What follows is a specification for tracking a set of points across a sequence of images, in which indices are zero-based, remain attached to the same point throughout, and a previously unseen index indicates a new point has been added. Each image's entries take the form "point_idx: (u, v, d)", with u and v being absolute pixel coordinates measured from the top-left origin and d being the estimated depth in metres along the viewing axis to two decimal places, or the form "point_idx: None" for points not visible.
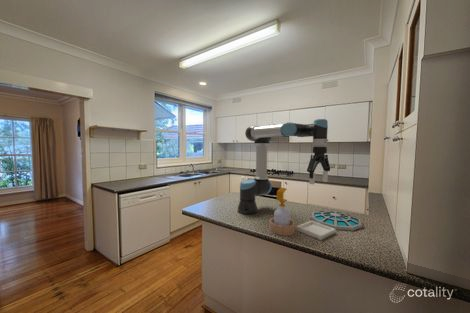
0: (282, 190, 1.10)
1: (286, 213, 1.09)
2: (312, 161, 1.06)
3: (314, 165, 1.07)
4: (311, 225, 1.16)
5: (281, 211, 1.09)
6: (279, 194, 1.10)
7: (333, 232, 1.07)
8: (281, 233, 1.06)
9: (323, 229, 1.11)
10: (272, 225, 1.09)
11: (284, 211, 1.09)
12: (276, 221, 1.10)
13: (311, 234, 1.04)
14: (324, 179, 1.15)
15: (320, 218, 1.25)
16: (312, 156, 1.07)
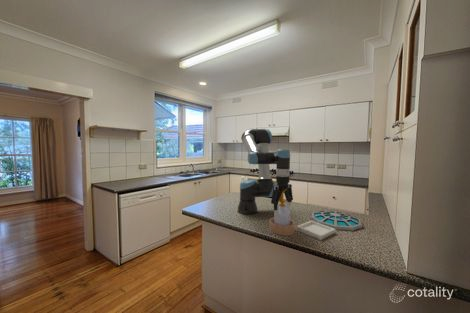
0: None
1: (286, 213, 1.09)
2: (274, 193, 1.07)
3: (277, 196, 1.08)
4: (311, 225, 1.16)
5: (281, 211, 1.09)
6: None
7: (333, 232, 1.07)
8: (281, 233, 1.06)
9: (323, 229, 1.11)
10: (272, 225, 1.09)
11: (284, 211, 1.09)
12: (276, 221, 1.10)
13: (311, 234, 1.04)
14: None
15: (320, 218, 1.25)
16: (274, 188, 1.07)
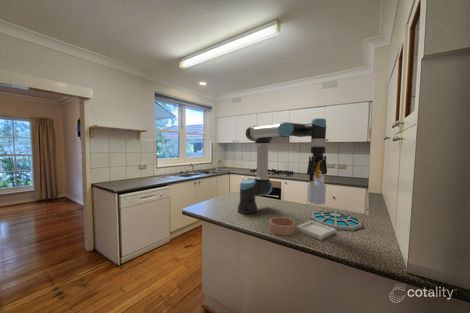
0: None
1: (322, 184, 1.05)
2: (311, 163, 1.04)
3: (313, 167, 1.05)
4: (311, 225, 1.16)
5: (317, 182, 1.06)
6: None
7: (333, 232, 1.07)
8: (281, 233, 1.06)
9: (323, 229, 1.11)
10: (272, 225, 1.09)
11: (320, 182, 1.06)
12: (312, 193, 1.06)
13: (311, 234, 1.04)
14: None
15: (320, 218, 1.25)
16: (310, 158, 1.04)
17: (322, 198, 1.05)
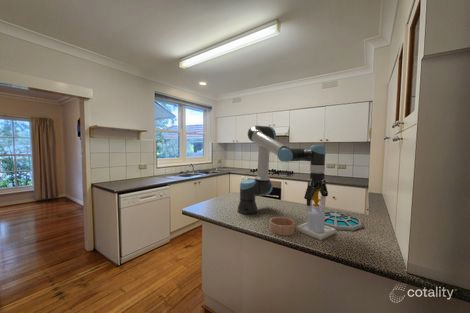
0: (317, 189, 1.08)
1: (321, 213, 1.06)
2: (309, 188, 1.04)
3: (311, 192, 1.05)
4: None
5: (316, 211, 1.07)
6: (314, 194, 1.07)
7: (333, 232, 1.07)
8: (281, 233, 1.06)
9: None
10: (272, 225, 1.09)
11: (319, 211, 1.07)
12: (311, 221, 1.07)
13: (311, 234, 1.04)
14: (322, 204, 1.13)
15: None
16: (309, 183, 1.05)
17: (321, 227, 1.06)
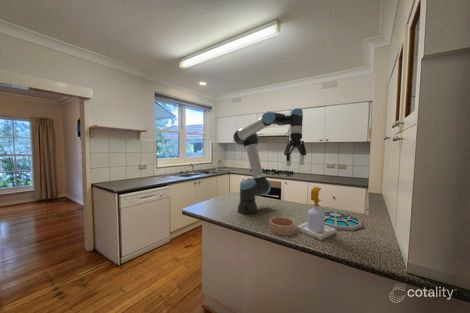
0: (317, 189, 1.07)
1: (321, 213, 1.06)
2: (288, 145, 1.20)
3: (290, 149, 1.21)
4: None
5: (316, 211, 1.07)
6: (314, 194, 1.07)
7: (333, 232, 1.07)
8: (281, 233, 1.06)
9: None
10: (272, 225, 1.09)
11: (319, 211, 1.07)
12: (311, 221, 1.07)
13: (311, 234, 1.04)
14: (301, 162, 1.29)
15: None
16: (289, 141, 1.21)
17: (321, 227, 1.06)
